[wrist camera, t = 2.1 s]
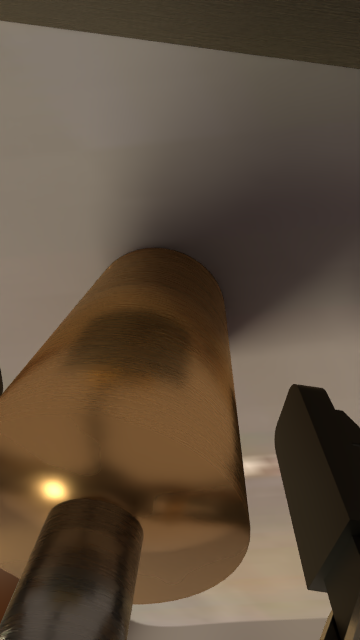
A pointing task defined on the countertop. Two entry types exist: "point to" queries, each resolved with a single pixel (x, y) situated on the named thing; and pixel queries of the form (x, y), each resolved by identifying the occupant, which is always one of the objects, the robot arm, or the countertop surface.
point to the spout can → (122, 455)
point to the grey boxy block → (212, 24)
